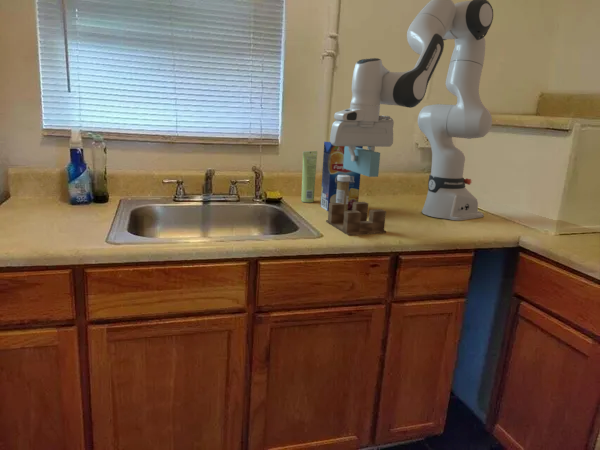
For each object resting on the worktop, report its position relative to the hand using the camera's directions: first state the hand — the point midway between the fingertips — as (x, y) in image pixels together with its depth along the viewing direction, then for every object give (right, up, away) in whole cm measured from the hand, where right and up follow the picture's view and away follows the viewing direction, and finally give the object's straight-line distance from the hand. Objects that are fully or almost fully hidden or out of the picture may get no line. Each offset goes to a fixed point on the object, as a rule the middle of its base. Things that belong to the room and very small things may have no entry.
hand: (360, 161), depth 147 cm
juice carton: (-4, -14, +30) cm, 34 cm away
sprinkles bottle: (-4, -15, +24) cm, 29 cm away
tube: (-15, -11, +39) cm, 44 cm away
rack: (-1, -20, +6) cm, 21 cm away
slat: (0, -3, +1) cm, 3 cm away
